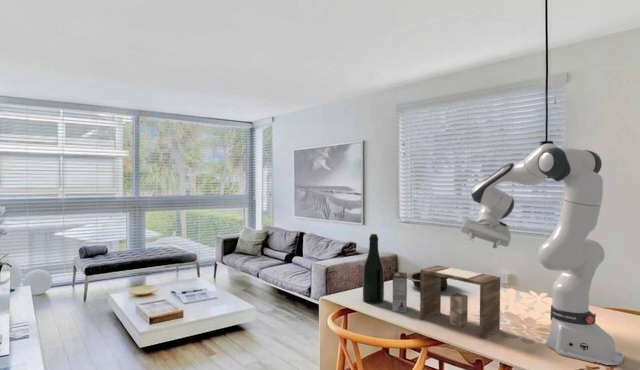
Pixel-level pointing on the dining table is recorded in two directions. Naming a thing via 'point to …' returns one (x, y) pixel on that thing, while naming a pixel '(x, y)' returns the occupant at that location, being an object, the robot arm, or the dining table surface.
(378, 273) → the green wine bottle
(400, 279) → the coffee box
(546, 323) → the dining table surface
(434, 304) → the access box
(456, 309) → the maple block
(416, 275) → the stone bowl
